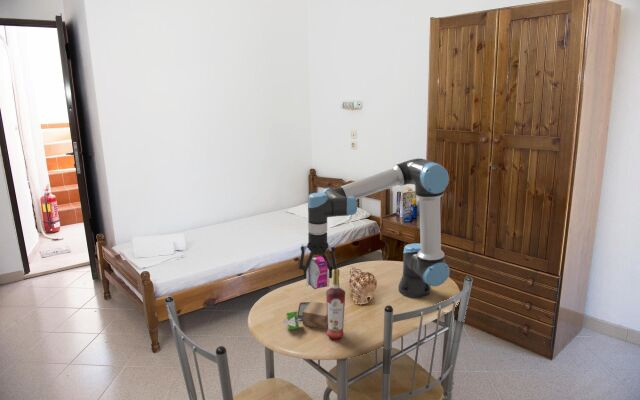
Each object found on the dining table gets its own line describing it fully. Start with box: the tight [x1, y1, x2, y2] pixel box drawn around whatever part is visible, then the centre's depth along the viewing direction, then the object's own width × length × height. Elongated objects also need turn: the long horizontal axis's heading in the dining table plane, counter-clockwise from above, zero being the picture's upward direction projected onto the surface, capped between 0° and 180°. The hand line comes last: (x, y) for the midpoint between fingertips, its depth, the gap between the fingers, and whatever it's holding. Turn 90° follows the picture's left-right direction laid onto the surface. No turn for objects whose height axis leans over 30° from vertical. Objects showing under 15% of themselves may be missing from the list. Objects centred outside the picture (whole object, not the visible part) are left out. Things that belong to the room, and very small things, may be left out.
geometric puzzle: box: [283, 311, 303, 331], centre depth 187 cm, size 7×7×8 cm
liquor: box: [325, 268, 346, 340], centre depth 178 cm, size 7×7×28 cm
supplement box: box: [308, 255, 328, 290], centre depth 187 cm, size 6×6×12 cm
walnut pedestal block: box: [302, 300, 328, 330], centre depth 192 cm, size 10×10×6 cm
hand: (318, 284), depth 189 cm, fingers closed on supplement box, 8 cm apart
